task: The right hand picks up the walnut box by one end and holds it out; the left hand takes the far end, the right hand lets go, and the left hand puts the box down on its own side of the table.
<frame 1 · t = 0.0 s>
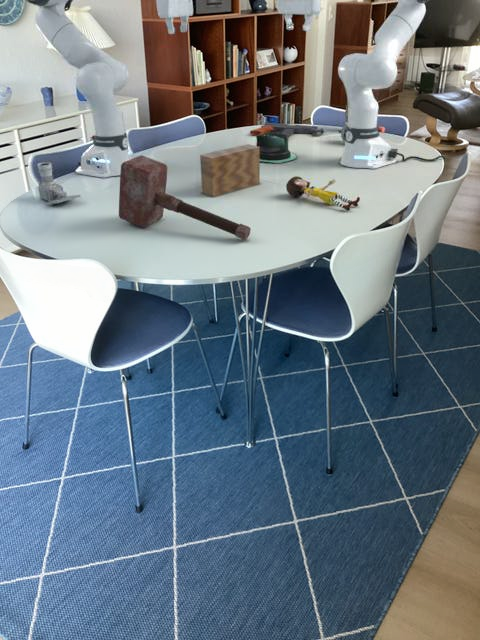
left hand: (177, 32, 183), 48 cm above the table, tool pointing down, fingers open, 8 cm apart
right hand: (297, 30, 182), 48 cm above the table, tool pointing down, fingers open, 8 cm apart
box: (231, 188, 194), on the table
green dome on base: (272, 157, 230), on the table
toy: (355, 144, 247), on the table
figurine: (320, 202, 179), on the table
statue: (353, 131, 270), on the table
sledgehammer: (185, 230, 160), on the table
submachine gun: (285, 135, 264), on the table
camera: (57, 201, 185), on the table
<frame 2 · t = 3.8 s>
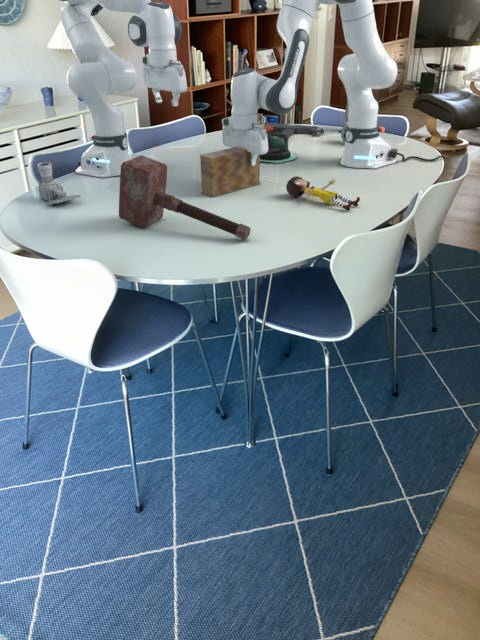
left hand: (166, 104, 187), 27 cm above the table, tool pointing down, fingers open, 8 cm apart
right hand: (245, 163, 194), 8 cm above the table, tool pointing down, fingers closed on box, 6 cm apart
box: (231, 188, 194), on the table, touching right hand
everything else where it was.
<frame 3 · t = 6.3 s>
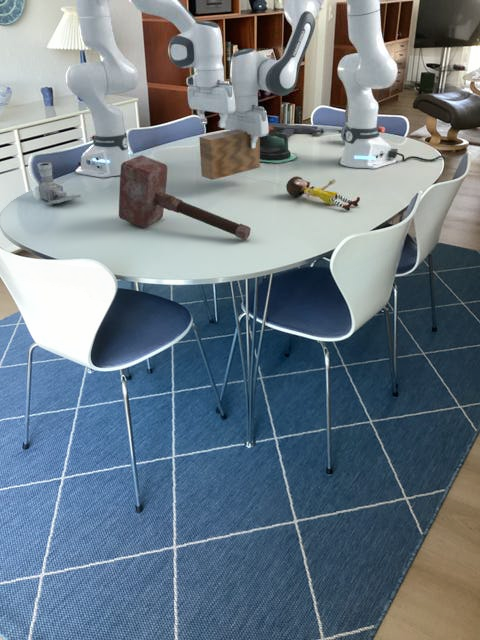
left hand: (212, 125, 180), 22 cm above the table, tool pointing down, fingers open, 8 cm apart
right hand: (245, 146, 191), 13 cm above the table, tool pointing down, fingers closed on box, 6 cm apart
box: (231, 171, 191), point 6 cm above the table, touching right hand
everything else where it was.
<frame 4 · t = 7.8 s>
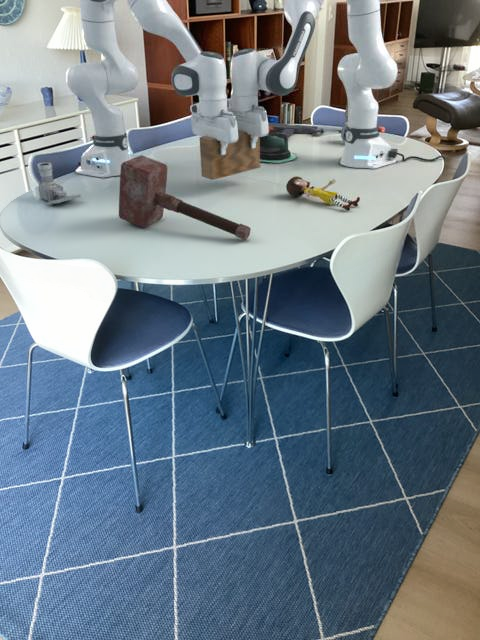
left hand: (215, 152, 184), 14 cm above the table, tool pointing down, fingers closed on box, 6 cm apart
right hand: (245, 146, 191), 13 cm above the table, tool pointing down, fingers closed on box, 6 cm apart
box: (231, 171, 191), point 6 cm above the table, touching left hand, right hand
everything else where it was.
when the right hand's fingers open (13 cm above the table, at t = 9.1 s): box stays where it is, held by the left hand.
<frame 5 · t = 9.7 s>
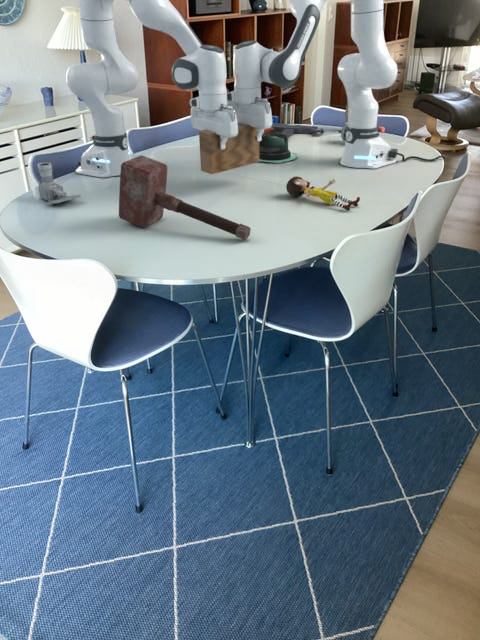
left hand: (214, 146, 183), 15 cm above the table, tool pointing down, fingers closed on box, 6 cm apart
right hand: (249, 138, 191), 16 cm above the table, tool pointing down, fingers open, 8 cm apart
box: (230, 166, 191), point 8 cm above the table, touching left hand
everything else where it was.
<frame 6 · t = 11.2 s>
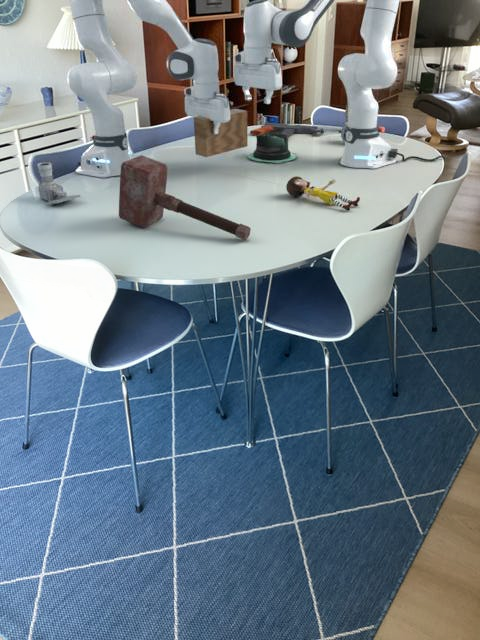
left hand: (208, 132, 200), 16 cm above the table, tool pointing down, fingers closed on box, 6 cm apart
right hand: (257, 102, 187), 27 cm above the table, tool pointing down, fingers open, 8 cm apart
box: (222, 150, 208), point 8 cm above the table, touching left hand
everything else where it was.
when the left hand's fingers open (9 cm above the table, at t = 14.5 s): box drops 1 cm, on the table.
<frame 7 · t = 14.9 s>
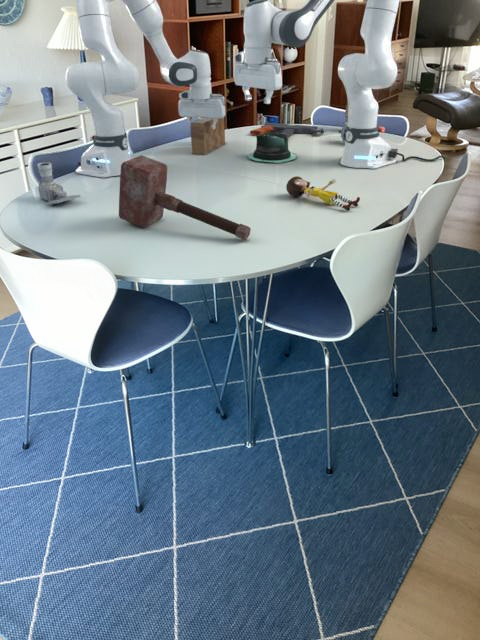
left hand: (202, 128, 235), 10 cm above the table, tool pointing down, fingers open, 8 cm apart
right hand: (257, 102, 187), 27 cm above the table, tool pointing down, fingers open, 8 cm apart
box: (209, 148, 245), on the table
everything else where it was.
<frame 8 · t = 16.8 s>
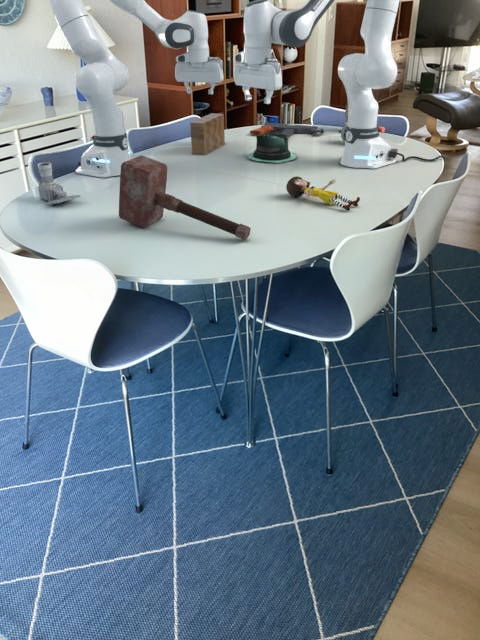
left hand: (200, 93, 228), 24 cm above the table, tool pointing down, fingers open, 8 cm apart
right hand: (257, 102, 187), 27 cm above the table, tool pointing down, fingers open, 8 cm apart
nothing on the table moved.
at the end: box inside the target area (6.1 cm from its centre), on the table; the left hand is holding nothing; the right hand is holding nothing; box at rest at the end (0.0 cm/s) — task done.
